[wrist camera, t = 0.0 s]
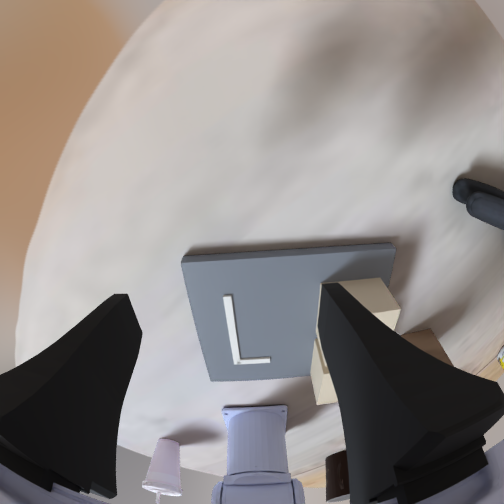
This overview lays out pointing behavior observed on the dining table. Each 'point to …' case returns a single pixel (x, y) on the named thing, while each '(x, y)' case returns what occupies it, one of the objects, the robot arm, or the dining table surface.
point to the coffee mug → (337, 477)
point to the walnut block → (428, 344)
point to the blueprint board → (280, 308)
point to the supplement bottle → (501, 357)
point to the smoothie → (164, 470)
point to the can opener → (481, 201)
